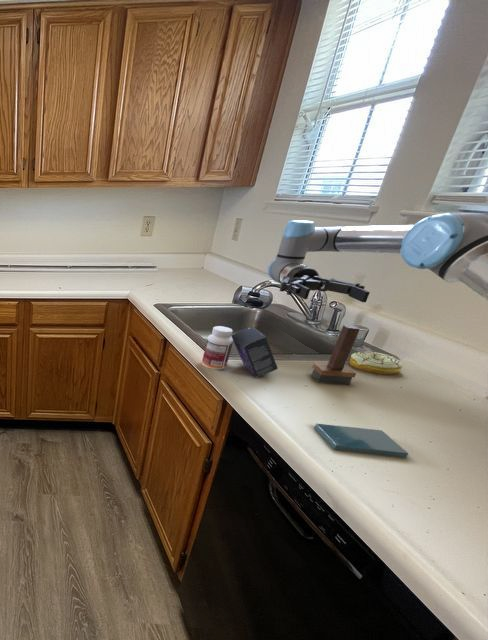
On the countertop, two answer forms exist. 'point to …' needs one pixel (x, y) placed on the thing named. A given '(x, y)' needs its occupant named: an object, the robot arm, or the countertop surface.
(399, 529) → the countertop surface
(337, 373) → the brush
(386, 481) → the countertop surface
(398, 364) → the decorated donut
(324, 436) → the tile
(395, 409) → the countertop surface
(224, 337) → the pill bottle
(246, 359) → the box
